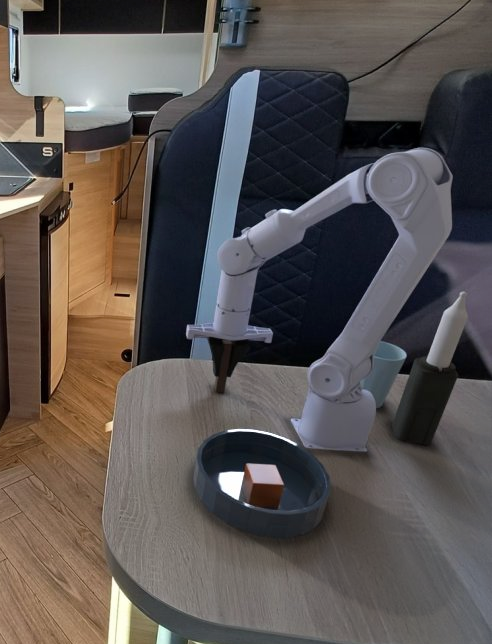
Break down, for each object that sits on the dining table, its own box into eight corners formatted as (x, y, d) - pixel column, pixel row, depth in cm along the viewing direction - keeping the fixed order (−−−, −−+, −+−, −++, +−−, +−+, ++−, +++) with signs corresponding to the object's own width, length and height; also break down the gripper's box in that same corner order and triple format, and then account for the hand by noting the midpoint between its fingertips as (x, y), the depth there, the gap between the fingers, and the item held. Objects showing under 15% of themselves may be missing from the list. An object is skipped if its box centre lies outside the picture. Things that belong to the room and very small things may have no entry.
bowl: (298, 456, 79) (304, 432, 77) (343, 545, 64) (353, 518, 62) (185, 449, 80) (188, 426, 78) (203, 536, 65) (208, 509, 63)
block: (270, 487, 72) (275, 464, 70) (278, 508, 69) (284, 485, 67) (241, 485, 72) (245, 463, 71) (247, 506, 69) (253, 483, 67)
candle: (424, 429, 86) (478, 288, 75) (432, 447, 82) (491, 300, 71) (390, 422, 88) (438, 283, 77) (396, 440, 83) (449, 295, 72)
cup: (358, 385, 99) (373, 336, 94) (398, 405, 93) (416, 353, 88) (333, 395, 95) (347, 345, 91) (372, 416, 89) (390, 364, 85)
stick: (222, 388, 97) (230, 340, 93) (224, 392, 96) (232, 344, 91) (214, 387, 97) (221, 340, 93) (215, 392, 96) (223, 343, 91)
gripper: (270, 298, 92) (256, 365, 98) (187, 295, 93) (179, 361, 99) (281, 314, 86) (266, 384, 92) (193, 310, 87) (184, 380, 93)
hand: (221, 374), depth 95 cm, fingers closed on stick, 1 cm apart
